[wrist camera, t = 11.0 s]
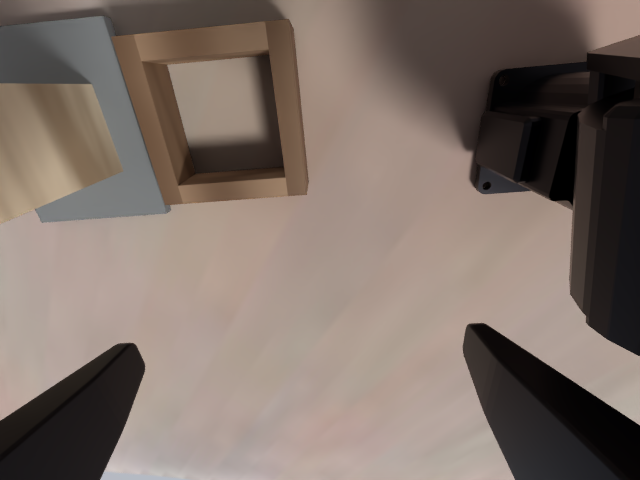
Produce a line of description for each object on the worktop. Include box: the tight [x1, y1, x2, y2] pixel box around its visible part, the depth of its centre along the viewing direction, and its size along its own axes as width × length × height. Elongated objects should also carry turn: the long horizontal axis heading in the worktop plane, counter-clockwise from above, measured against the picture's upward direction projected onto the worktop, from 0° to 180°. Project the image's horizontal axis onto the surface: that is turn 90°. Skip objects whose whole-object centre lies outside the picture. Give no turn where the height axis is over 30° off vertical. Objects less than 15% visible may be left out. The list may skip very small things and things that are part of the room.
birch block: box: [0, 83, 123, 224], centre depth 13 cm, size 4×4×8 cm
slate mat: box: [0, 16, 171, 223], centre depth 17 cm, size 8×10×1 cm
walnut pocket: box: [111, 19, 309, 205], centre depth 16 cm, size 8×8×2 cm
